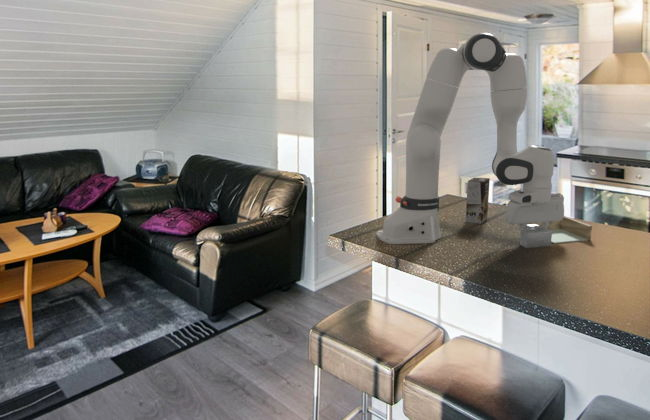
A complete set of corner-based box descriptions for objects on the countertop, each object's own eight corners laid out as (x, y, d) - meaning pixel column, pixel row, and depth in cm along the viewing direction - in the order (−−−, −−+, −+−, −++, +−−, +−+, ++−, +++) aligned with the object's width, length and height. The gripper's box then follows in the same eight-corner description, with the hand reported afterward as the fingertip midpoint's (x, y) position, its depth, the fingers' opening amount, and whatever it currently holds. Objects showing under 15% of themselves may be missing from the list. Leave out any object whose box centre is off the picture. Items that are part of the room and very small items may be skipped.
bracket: (550, 245, 168) (552, 231, 167) (526, 248, 166) (527, 233, 165) (533, 238, 177) (535, 223, 175) (510, 240, 175) (511, 226, 173)
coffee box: (481, 224, 195) (484, 182, 191) (464, 222, 198) (466, 180, 194) (488, 218, 202) (490, 178, 198) (471, 216, 206) (473, 176, 202)
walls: (553, 243, 170) (555, 229, 169) (526, 231, 184) (527, 217, 183) (590, 240, 173) (592, 225, 172) (560, 228, 187) (562, 215, 186)
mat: (553, 243, 170) (554, 242, 170) (526, 231, 184) (526, 230, 184) (590, 240, 173) (590, 239, 173) (560, 228, 187) (560, 227, 187)
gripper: (557, 190, 176) (554, 229, 179) (504, 194, 171) (501, 234, 175) (570, 194, 170) (566, 234, 173) (515, 198, 165) (512, 239, 169)
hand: (533, 234), depth 174 cm, fingers open, 5 cm apart
